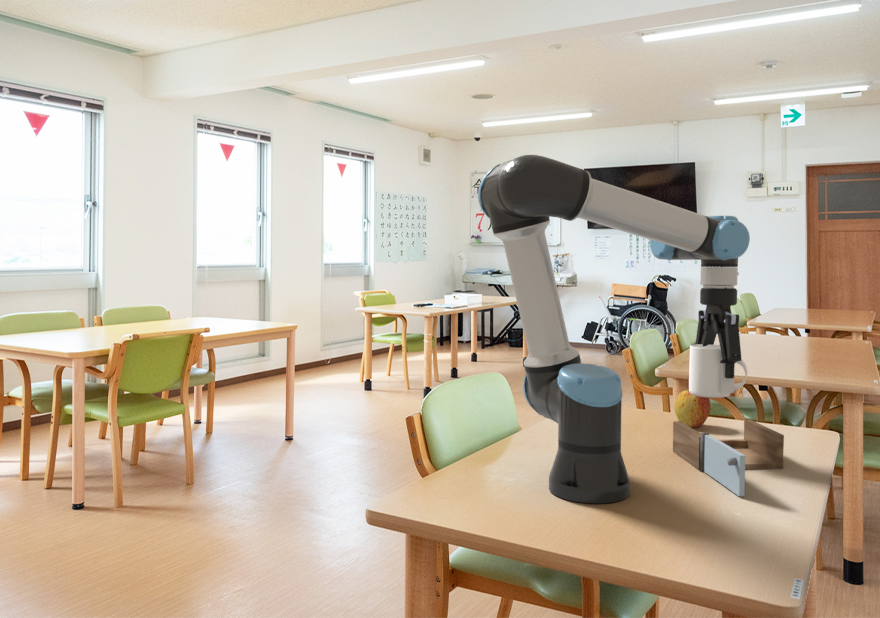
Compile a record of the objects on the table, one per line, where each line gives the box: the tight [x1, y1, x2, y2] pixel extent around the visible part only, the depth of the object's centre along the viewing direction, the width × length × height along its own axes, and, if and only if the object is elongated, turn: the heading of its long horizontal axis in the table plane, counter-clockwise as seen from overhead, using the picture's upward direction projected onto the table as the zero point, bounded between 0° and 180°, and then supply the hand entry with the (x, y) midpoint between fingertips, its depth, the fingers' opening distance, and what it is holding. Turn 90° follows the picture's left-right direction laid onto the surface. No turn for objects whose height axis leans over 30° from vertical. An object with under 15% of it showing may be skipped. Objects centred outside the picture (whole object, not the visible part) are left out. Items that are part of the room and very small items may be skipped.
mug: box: [688, 344, 748, 399], centre depth 152 cm, size 9×12×11 cm
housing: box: [672, 419, 785, 473], centre depth 150 cm, size 18×16×8 cm
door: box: [703, 434, 746, 497], centre depth 134 cm, size 15×2×8 cm, turn 3°
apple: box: [673, 389, 712, 429], centre depth 181 cm, size 9×9×10 cm
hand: (715, 388), depth 153 cm, fingers closed on mug, 9 cm apart
